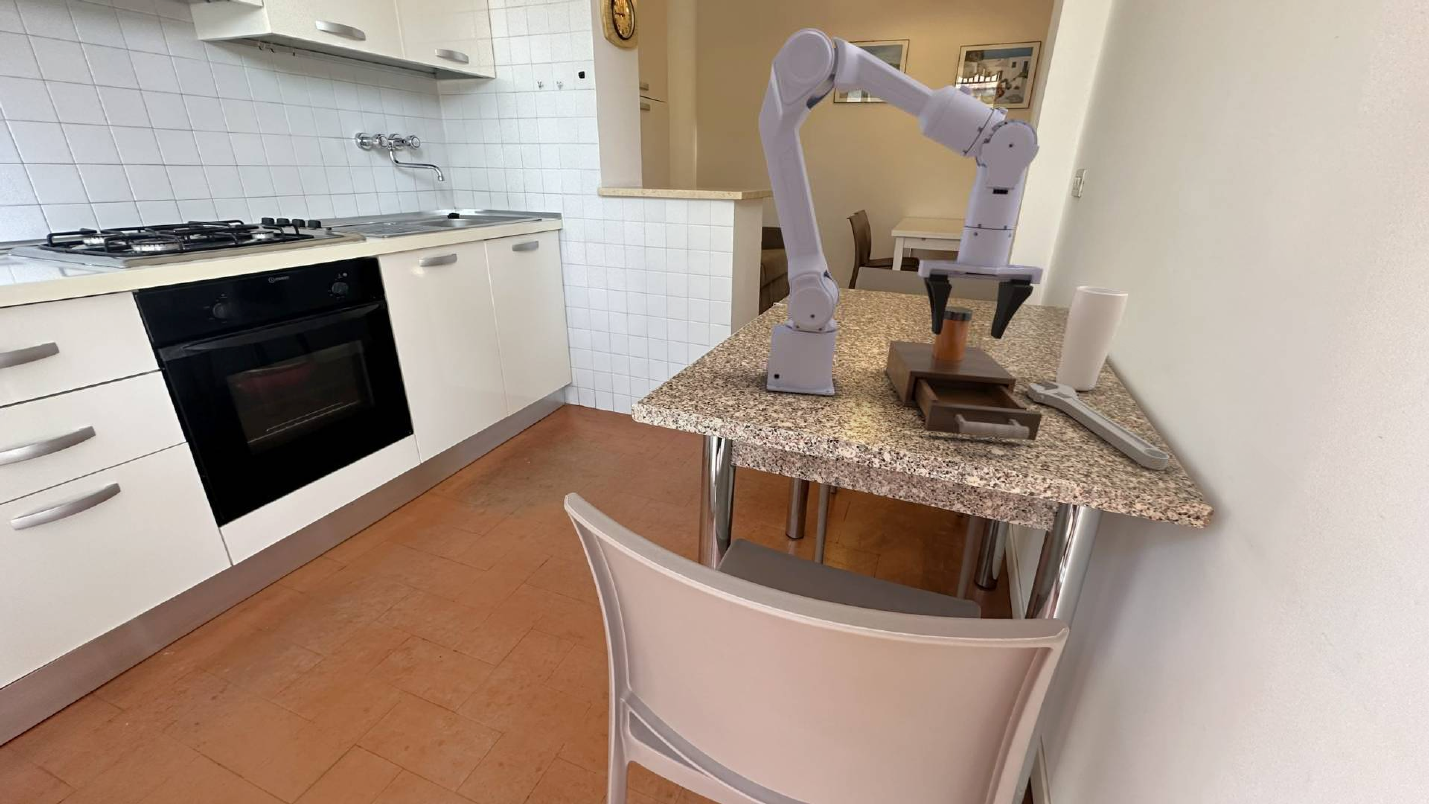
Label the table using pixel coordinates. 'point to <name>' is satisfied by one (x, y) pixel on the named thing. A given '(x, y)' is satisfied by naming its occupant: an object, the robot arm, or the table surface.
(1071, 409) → the adjustable wrench
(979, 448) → the table surface
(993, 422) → the drawer
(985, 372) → the cabinet
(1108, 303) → the drinking glass
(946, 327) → the spice jar
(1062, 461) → the table surface
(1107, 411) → the table surface
